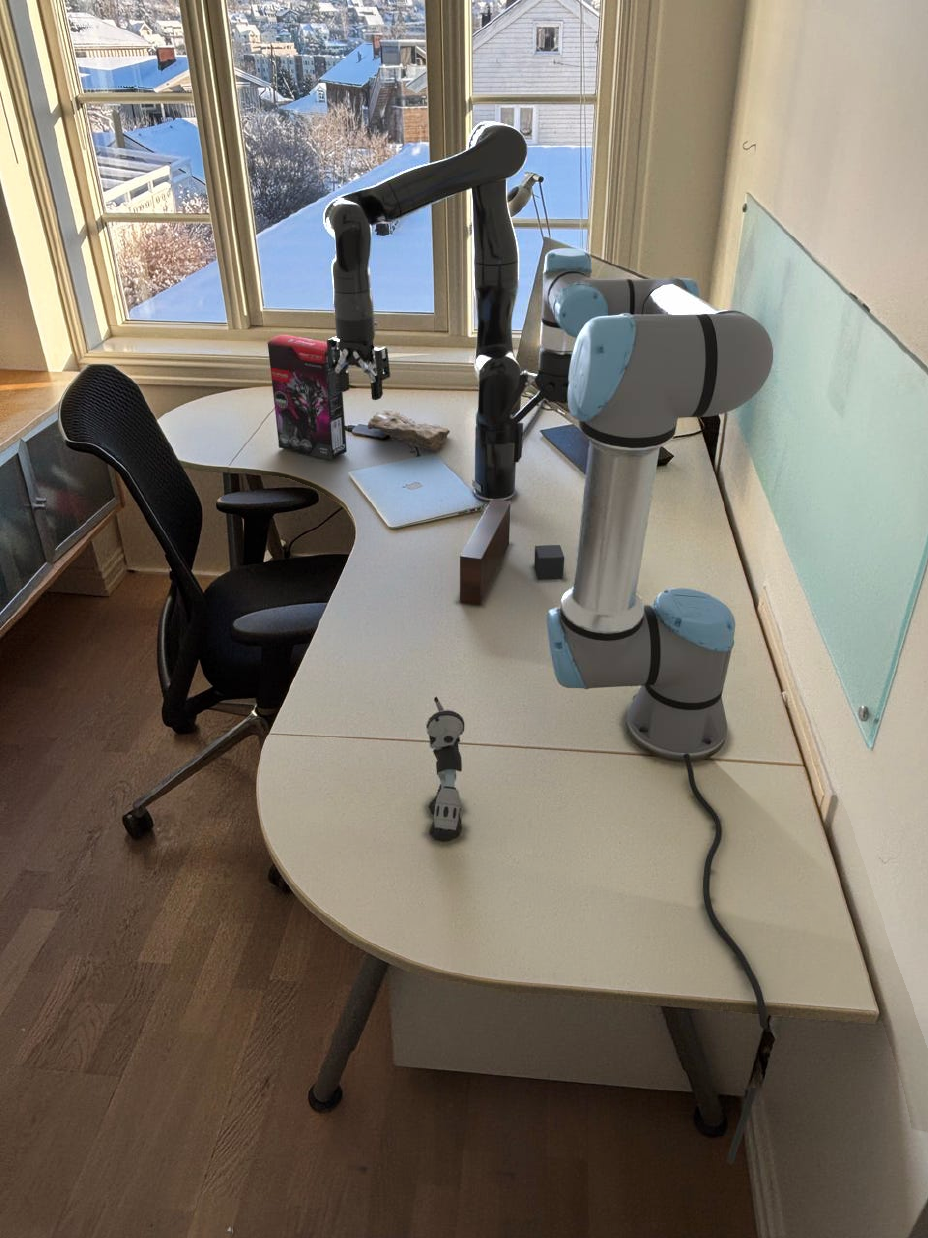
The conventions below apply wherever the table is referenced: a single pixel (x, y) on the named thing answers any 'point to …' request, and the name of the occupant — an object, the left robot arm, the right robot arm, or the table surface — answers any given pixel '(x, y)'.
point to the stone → (408, 430)
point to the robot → (446, 772)
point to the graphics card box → (306, 397)
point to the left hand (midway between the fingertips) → (360, 394)
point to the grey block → (549, 562)
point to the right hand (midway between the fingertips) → (554, 464)
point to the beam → (484, 552)
